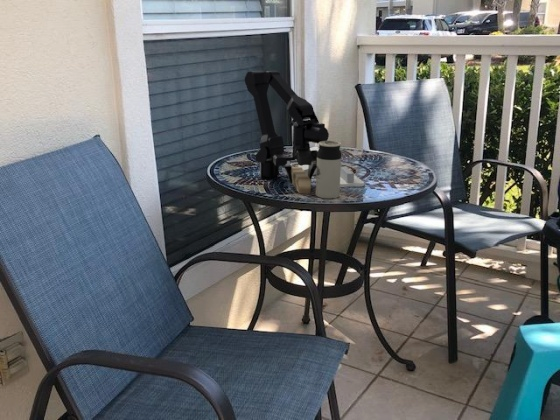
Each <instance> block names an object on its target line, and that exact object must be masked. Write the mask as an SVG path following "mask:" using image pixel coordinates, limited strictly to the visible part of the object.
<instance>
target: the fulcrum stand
mask: <svg viewBox="0 0 560 420" xmlns="http://www.w3.org/2000/svg"><path fill="white" fill-rule="evenodd" d="M365 185H366V184H365V182H364V181H363V180H361V179H360V178H359V177H358V176H356V174H355V173H354V172H353V171H352V170H351V169H349V168H348V167H347V166H341V173H340V188H345V187H346V188H348V187H350V188H351V187H365Z"/></svg>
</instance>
